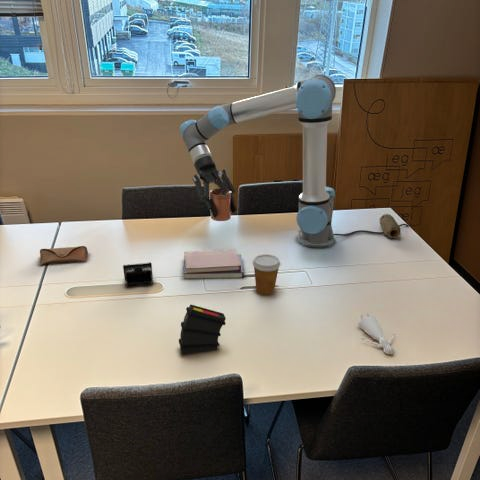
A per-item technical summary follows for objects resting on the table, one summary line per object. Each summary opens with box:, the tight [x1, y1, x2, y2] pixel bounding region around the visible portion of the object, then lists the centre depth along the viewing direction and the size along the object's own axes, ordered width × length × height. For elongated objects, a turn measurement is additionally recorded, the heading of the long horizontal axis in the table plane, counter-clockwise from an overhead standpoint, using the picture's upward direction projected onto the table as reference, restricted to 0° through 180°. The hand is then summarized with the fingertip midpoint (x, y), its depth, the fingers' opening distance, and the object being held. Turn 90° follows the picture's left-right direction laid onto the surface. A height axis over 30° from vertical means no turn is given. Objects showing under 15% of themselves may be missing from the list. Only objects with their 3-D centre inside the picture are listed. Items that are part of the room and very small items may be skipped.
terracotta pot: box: [209, 188, 232, 222], centre depth 190 cm, size 8×8×10 cm
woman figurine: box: [358, 313, 396, 355], centre depth 153 cm, size 12×4×18 cm
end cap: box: [122, 261, 154, 289], centre depth 180 cm, size 10×7×7 cm
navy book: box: [182, 254, 245, 280], centre depth 190 cm, size 22×15×3 cm
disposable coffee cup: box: [252, 254, 281, 296], centre depth 175 cm, size 10×10×12 cm
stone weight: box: [379, 213, 402, 239], centre depth 220 cm, size 15×7×7 cm, turn 5°
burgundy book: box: [183, 248, 241, 274], centre depth 189 cm, size 20×14×2 cm
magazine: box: [178, 303, 227, 356], centre depth 145 cm, size 4×13×15 cm, turn 106°
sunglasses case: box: [38, 245, 89, 266], centre depth 195 cm, size 18×7×7 cm, turn 104°
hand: (225, 213), depth 189 cm, fingers closed on terracotta pot, 8 cm apart
